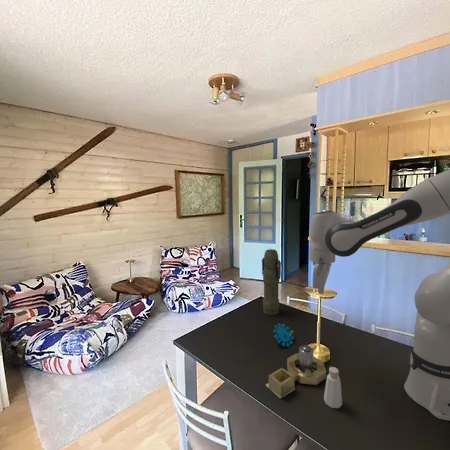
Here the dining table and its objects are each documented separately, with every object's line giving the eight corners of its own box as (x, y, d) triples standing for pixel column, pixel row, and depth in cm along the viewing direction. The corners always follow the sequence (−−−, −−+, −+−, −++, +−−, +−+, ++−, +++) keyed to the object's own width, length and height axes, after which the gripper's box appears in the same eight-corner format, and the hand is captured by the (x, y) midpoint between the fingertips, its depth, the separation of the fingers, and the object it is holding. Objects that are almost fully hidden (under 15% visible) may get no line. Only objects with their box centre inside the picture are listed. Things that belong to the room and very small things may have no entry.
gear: (280, 347, 106) (271, 324, 112) (273, 352, 110) (264, 329, 116) (299, 343, 112) (290, 320, 118) (291, 347, 116) (282, 325, 121)
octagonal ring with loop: (302, 356, 103) (302, 346, 102) (332, 374, 92) (332, 363, 92) (260, 380, 90) (260, 369, 89) (289, 404, 79) (290, 392, 79)
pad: (280, 377, 92) (280, 376, 92) (295, 389, 86) (295, 388, 86) (265, 385, 88) (265, 384, 88) (280, 398, 82) (280, 398, 82)
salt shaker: (331, 410, 77) (332, 377, 76) (320, 397, 82) (320, 365, 81) (346, 406, 79) (347, 373, 77) (334, 393, 84) (335, 362, 82)
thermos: (266, 306, 150) (266, 247, 146) (284, 311, 142) (284, 250, 138) (257, 311, 143) (257, 250, 139) (276, 317, 136) (276, 253, 131)
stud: (316, 369, 95) (317, 344, 94) (314, 381, 89) (314, 355, 88) (298, 364, 98) (298, 340, 97) (294, 375, 92) (294, 350, 91)
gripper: (328, 263, 82) (327, 305, 83) (333, 250, 100) (332, 285, 101) (308, 261, 84) (307, 301, 86) (316, 249, 102) (315, 282, 104)
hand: (321, 292), depth 94 cm, fingers closed
